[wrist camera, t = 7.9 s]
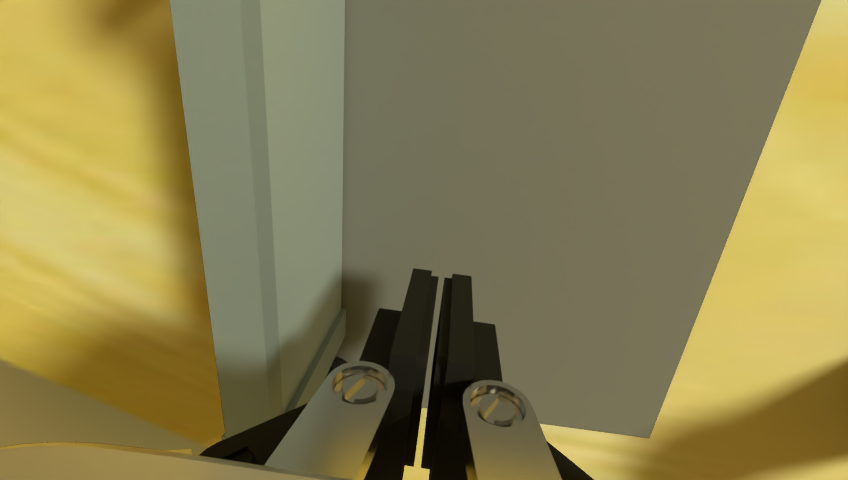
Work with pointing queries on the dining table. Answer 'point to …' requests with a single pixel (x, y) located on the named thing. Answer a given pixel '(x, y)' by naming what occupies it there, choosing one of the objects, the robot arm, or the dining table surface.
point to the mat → (558, 177)
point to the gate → (267, 192)
